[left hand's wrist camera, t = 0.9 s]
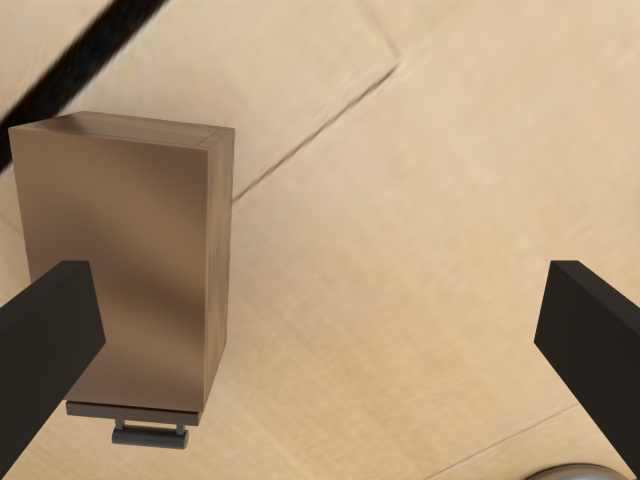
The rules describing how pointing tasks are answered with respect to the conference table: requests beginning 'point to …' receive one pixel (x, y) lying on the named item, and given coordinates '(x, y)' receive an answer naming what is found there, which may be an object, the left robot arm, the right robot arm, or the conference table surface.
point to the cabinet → (136, 245)
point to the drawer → (145, 414)
